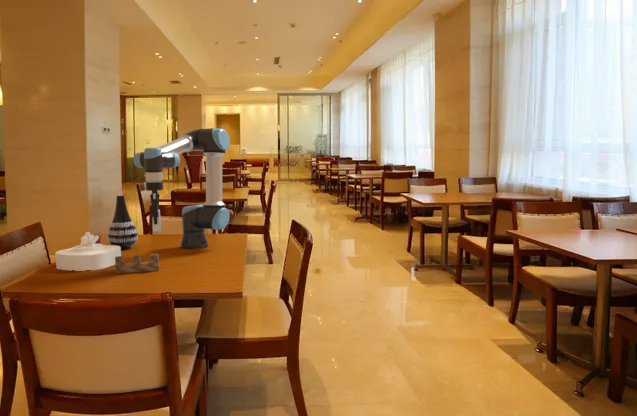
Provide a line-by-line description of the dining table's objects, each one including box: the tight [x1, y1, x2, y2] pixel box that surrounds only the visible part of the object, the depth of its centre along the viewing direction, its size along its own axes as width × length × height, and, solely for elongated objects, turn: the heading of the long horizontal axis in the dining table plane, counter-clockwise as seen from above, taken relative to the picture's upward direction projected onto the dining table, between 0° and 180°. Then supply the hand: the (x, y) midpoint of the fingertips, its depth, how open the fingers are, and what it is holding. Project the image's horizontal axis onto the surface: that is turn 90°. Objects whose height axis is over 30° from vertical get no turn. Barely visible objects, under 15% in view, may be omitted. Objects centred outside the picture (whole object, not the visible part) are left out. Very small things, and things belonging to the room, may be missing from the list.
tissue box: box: [55, 231, 122, 272], centre depth 249 cm, size 25×25×16 cm
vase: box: [106, 194, 139, 251], centre depth 289 cm, size 16×16×30 cm
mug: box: [83, 233, 102, 244], centre depth 272 cm, size 12×9×10 cm
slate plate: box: [152, 208, 162, 235], centre depth 243 cm, size 10×3×10 cm, turn 15°
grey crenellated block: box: [114, 253, 160, 274], centre depth 234 cm, size 18×3×7 cm, turn 105°
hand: (156, 229), depth 243 cm, fingers closed on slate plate, 10 cm apart
